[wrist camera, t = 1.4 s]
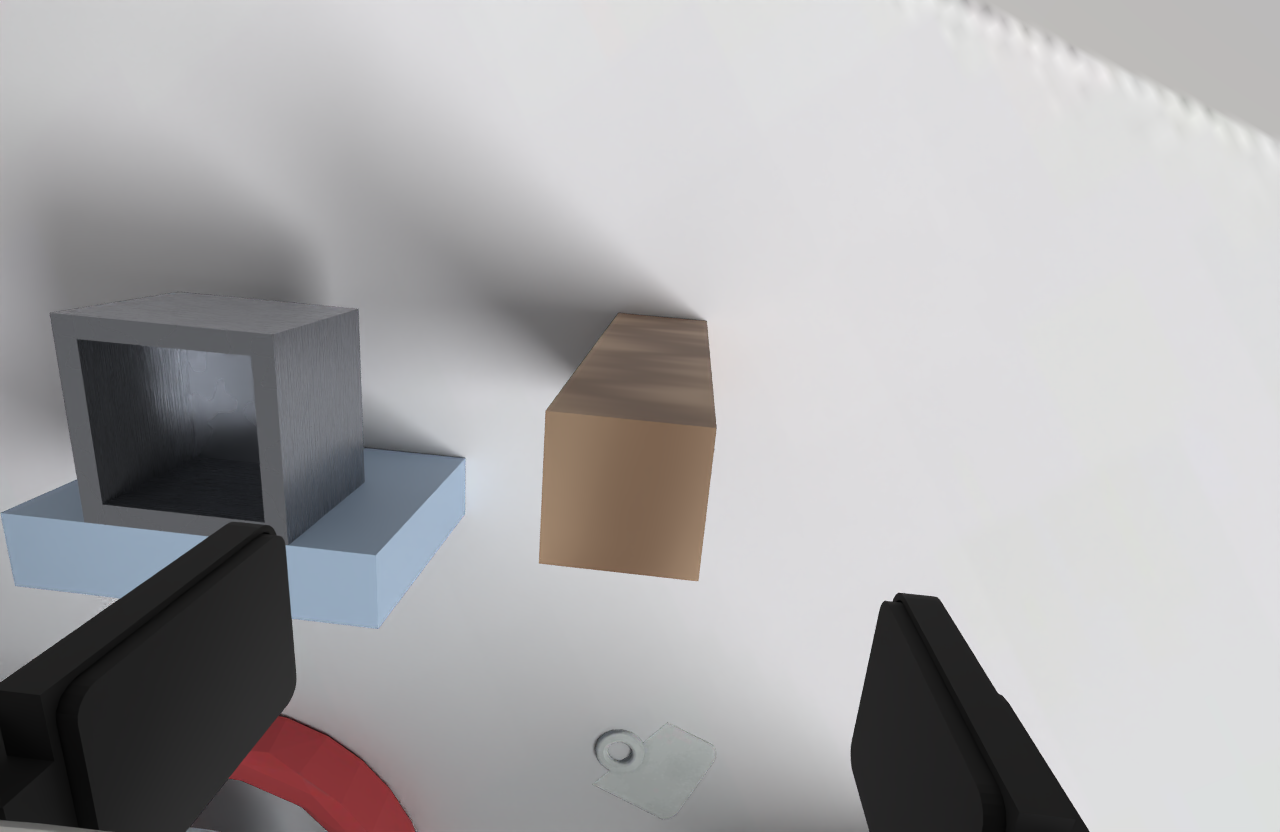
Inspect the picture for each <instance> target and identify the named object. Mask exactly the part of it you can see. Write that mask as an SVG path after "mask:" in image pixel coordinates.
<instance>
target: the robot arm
mask: <svg viewBox="0 0 1280 832" xmlns="http://www.w3.org/2000/svg"><path fill="white" fill-rule="evenodd" d="M295 686H296V666H295V654H294V642H293V630H292V617H291V605H290V593H289V581H288V569H287V556H286V545H285V541H284V539H283V537H281V536H279V535H276V532H275V530H274V528H273V527H271V526H270V525H262V524H253V523H244V522H230V523H228V524H226V525H225V526H223V527H222V528H220V529H219V530H217V531H216V532H215V533H213V534H212V535H210V536H209V537H207V538H206V539H205V540H203V541H202V542H200V543H199V544H197V545H196V546H195V547H193V548H192V549H190V550H189V551H187V552H186V553H185V554H183V555H182V556H180V557H179V558H177V559H176V560H175V561H173V562H172V563H170V564H169V565H167V566H166V567H165V568H163V569H162V570H160V571H159V572H157V573H156V574H155V575H153V576H152V577H150V578H149V579H147V580H146V581H145V582H143V583H142V584H140V585H139V586H137V587H136V588H135V589H133V590H132V591H130V592H129V593H127V594H126V595H125V596H123V597H122V598H120V599H119V600H117V601H116V602H115V603H113V604H112V605H110V606H109V607H107V608H106V609H105V610H103V611H102V612H100V613H99V614H97V615H96V616H95V617H93V618H92V619H90V620H89V621H87V622H86V623H85V624H83V625H82V626H80V627H79V628H77V629H76V630H75V631H73V632H72V633H70V634H69V635H67V636H66V637H65V638H63V639H62V640H60V641H59V642H57V643H56V644H55V645H53V646H52V647H50V648H49V649H47V650H46V651H45V652H43V653H42V654H40V655H39V656H37V657H36V658H35V659H33V660H32V661H30V662H29V663H27V664H26V665H25V666H23V667H22V668H20V669H19V670H17V671H16V672H15V673H13V674H12V675H10V676H9V677H7V678H6V679H5V680H3V681H2V682H0V832H186V831H187V830H188V829H189V827H190V826H191V825H192V824H193V822H194V821H195V820H196V819H197V817H198V816H199V815H200V814H201V812H202V811H203V810H204V809H205V807H206V806H207V805H208V804H209V802H210V801H211V800H212V799H213V797H214V796H215V795H216V794H217V792H218V791H219V790H220V789H221V787H222V786H223V785H224V784H225V782H226V781H227V780H228V779H229V777H230V776H231V775H232V773H233V772H234V771H235V770H236V768H237V767H238V766H239V765H240V763H241V762H242V761H243V760H244V758H245V757H246V756H247V755H248V753H249V752H250V751H251V750H252V748H253V747H254V746H255V745H256V743H257V742H258V741H259V740H260V738H261V737H262V736H263V735H264V733H265V732H266V731H267V730H268V728H269V727H270V726H271V725H272V723H273V722H274V721H275V720H276V718H277V717H278V716H279V715H280V713H281V712H282V711H283V710H284V708H285V707H286V706H287V705H288V703H289V702H290V700H291V698H292V696H293V693H294V690H295ZM851 766H852V771H853V775H854V778H855V782H856V785H857V789H858V792H859V796H860V800H861V803H862V807H863V810H864V814H865V817H866V821H867V824H868V828H869V832H1089V830H1088V828H1087V827H1086V825H1085V824H1084V822H1083V820H1082V819H1081V817H1080V816H1079V814H1078V812H1077V811H1076V809H1075V808H1074V806H1073V804H1072V803H1071V801H1070V800H1069V798H1068V797H1067V795H1066V793H1065V792H1064V790H1063V789H1062V787H1061V785H1060V784H1059V782H1058V781H1057V779H1056V777H1055V776H1054V774H1053V773H1052V771H1051V769H1050V768H1049V766H1048V765H1047V763H1046V762H1045V760H1044V758H1043V757H1042V755H1041V754H1040V752H1039V750H1038V749H1037V747H1036V746H1035V744H1034V742H1033V741H1032V739H1031V738H1030V736H1029V734H1028V733H1027V731H1026V730H1025V728H1024V727H1023V725H1022V723H1021V722H1020V720H1019V719H1018V717H1017V715H1016V714H1015V712H1014V711H1013V709H1012V707H1011V706H1010V704H1009V703H1008V702H1007V700H1006V699H1005V698H1004V697H1003V696H1002V695H1000V694H998V693H997V691H996V690H995V688H994V686H993V685H992V683H991V681H990V680H989V678H988V677H987V675H986V673H985V672H984V670H983V669H982V667H981V665H980V664H979V662H978V660H977V659H976V657H975V656H974V654H973V652H972V651H971V649H970V647H969V646H968V644H967V643H966V641H965V639H964V638H963V636H962V635H961V633H960V631H959V630H958V628H957V626H956V625H955V623H954V622H953V620H952V618H951V617H950V615H949V614H948V612H947V610H946V609H945V607H944V605H943V604H942V602H941V601H940V600H939V599H938V597H933V596H924V595H915V594H905V593H898V594H896V595H895V597H894V599H893V602H890V601H884V602H883V603H882V605H881V607H880V611H879V615H878V620H877V625H876V629H875V634H874V639H873V644H872V648H871V653H870V658H869V662H868V667H867V672H866V677H865V681H864V686H863V691H862V695H861V700H860V705H859V710H858V714H857V719H856V724H855V728H854V733H853V738H852V743H851Z"/></svg>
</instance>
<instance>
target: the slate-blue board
mask: <svg viewBox="0 0 1280 832" xmlns="http://www.w3.org/2000/svg"><path fill="white" fill-rule="evenodd" d="M364 476H365V482H364V483H363V484H362V485H361V486H359V487H358V488H357V489H356V490H355V491H353V492H352V493H351V494H350V495H349V496H347V497H346V498H345V499H344V500H343V501H341V502H340V503H339V504H338V505H336V506H335V507H334V508H333V509H332V510H330V511H329V512H328V513H327V514H326V515H324V516H323V517H322V518H321V519H320V520H318V521H317V522H316V523H315V524H314V525H312V526H311V527H310V528H309V529H307V530H306V531H305V532H304V533H303V534H301V535H300V536H299V537H298V538H297V539H295V540H294V541H293V542H292V543H291V544H289V545H286V556H287V569H288V581H289V593H290V605H291V617H292V619H300V620H308V621H317V622H325V623H334V624H342V625H350V626H359V627H367V628H376V629H378V628H379V627H380V626H381V625H382V623H383V622H384V621H385V619H386V618H387V617H388V615H389V614H390V613H391V611H392V610H393V609H394V607H395V606H396V605H397V603H398V602H399V601H400V599H401V598H402V597H403V595H404V594H405V593H406V591H407V590H408V589H409V587H410V586H411V585H412V583H413V582H414V581H415V580H416V578H417V577H418V576H419V574H420V573H421V572H422V570H423V569H424V568H425V566H426V565H427V564H428V562H429V561H430V560H431V558H432V557H433V556H434V554H435V553H436V552H437V550H438V549H439V548H440V546H441V545H442V544H443V542H444V541H445V540H446V538H447V537H448V536H449V534H450V533H451V532H452V531H453V529H454V528H455V527H456V525H457V524H458V523H459V521H460V520H461V519H462V517H463V516H464V515H465V458H458V457H448V456H438V455H429V454H419V453H410V452H400V451H391V450H381V449H372V448H364ZM1 518H2V523H3V528H4V533H5V538H6V543H7V548H8V553H9V558H10V563H11V568H12V573H13V577H14V582H15V586H20V587H29V588H37V589H46V590H54V591H63V592H71V593H80V594H88V595H97V596H105V597H114V598H122V597H123V596H125V595H126V594H127V593H129V592H130V591H132V590H133V589H135V588H136V587H137V586H139V585H140V584H142V583H143V582H145V581H146V580H147V579H149V578H150V577H152V576H153V575H155V574H156V573H157V572H159V571H160V570H162V569H163V568H165V567H166V566H167V565H169V564H170V563H172V562H173V561H175V560H176V559H177V558H179V557H180V556H182V555H183V554H185V553H186V552H187V551H189V550H190V549H192V548H193V547H195V546H196V545H197V544H199V543H200V542H202V541H203V540H205V539H206V538H207V537H209V536H200V535H191V534H182V533H173V532H164V531H155V530H147V529H138V528H129V527H120V526H111V525H102V524H93V523H84V517H83V511H82V505H81V499H80V493H79V487H78V481H77V480H75V481H72V482H70V483H68V484H65V485H63V486H61V487H59V488H56V489H54V490H52V491H49V492H47V493H45V494H43V495H40V496H38V497H36V498H34V499H31V500H29V501H27V502H24V503H22V504H20V505H18V506H15V507H13V508H11V509H8V510H6V511H4V512H2V513H1Z"/></svg>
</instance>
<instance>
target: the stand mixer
mask: <svg viewBox="0 0 1280 832" xmlns="http://www.w3.org/2000/svg"><path fill="white" fill-rule="evenodd" d="M229 779H235V780H241V781H243V782H246V783H248V784H250V785H252V786H255V787H257V788H259V789H262V790H264V791H266V792H269V793H271V794H273V795H275V796H278V797H280V798H282V799H285V800H287V801H289V802H292V803H294V804H296V805H298V806H300V807H302V808H303V809H304V810H305V811H306V812H307V813H308V814H310V815H311V816H312V817H313V818H314V819H315V820H316V821H317V822H318V823H319V824H320V825H321V826H323V827H324V828H325V829H326V830H327V831H328V832H415V830H414V827H413V825H412V822H411V821H410V819H409V817H408V816H407V814H406V813H405V811H404V810H403V808H402V807H401V805H400V804H399V802H398V800H397V799H396V797H395V796H394V794H393V793H392V791H391V790H390V788H389V787H388V786H387V785H386V784H385V783H384V782H383V781H382V780H381V779H380V778H379V777H378V776H377V775H376V774H375V773H374V772H373V771H372V770H371V769H370V768H369V767H368V766H367V765H366V764H365V763H364V762H363V761H362V760H361V759H360V758H358V757H357V756H356V755H354V754H353V753H351V752H350V751H348V750H347V749H346V748H344V747H343V746H341V745H340V744H338V743H337V742H336V741H334V740H333V739H331V738H330V737H329V736H326V735H324V734H322V733H320V732H318V731H315V730H313V729H311V728H309V727H307V726H304V725H302V724H300V723H298V722H296V721H293V720H291V719H289V718H286V717H281V716H278V717H277V718H276V720H275V721H274V722H273V723H272V725H271V726H270V727H269V728H268V730H267V731H266V732H265V733H264V735H263V736H262V737H261V738H260V740H259V741H258V742H257V743H256V745H255V746H254V747H253V748H252V750H251V751H250V752H249V753H248V755H247V756H246V757H245V758H244V760H243V761H242V762H241V763H240V765H239V766H238V767H237V768H236V770H235V771H234V772H233V773H232V775H231V776H230V777H229ZM186 832H220V831H214V830H208V829H200V828H193V827H189V829H188V830H187V831H186Z"/></svg>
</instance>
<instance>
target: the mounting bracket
mask: <svg viewBox="0 0 1280 832" xmlns="http://www.w3.org/2000/svg"><path fill="white" fill-rule="evenodd" d="M615 742H622V743H625V744H627V745H628V746H629V747H630V748H631V750H632V752H631V753H630V754H629V756H628V757H626V758H624V759H623V760H621V761H618V760H615V759H613V758H612V757H610V755H609V753H608V747H609V746H610V745H611V744H613V743H615ZM595 749H596V755H597V758H598V760H599V761H600V763H601V764H602V765H603V766H604V767H605V768H607V769H608V770H609V771H608V772H607V773H606V774H604V775H603V776H602V777H601V778H600V779H598V780H597V781H596V782H595V783H594V784H592V785H594V786H596V787H598V788H600V789H602V790H604V791H606V792H608V793H610V794H612V795H614V796H616V797H618V798H620V799H622V800H624V801H626V802H628V803H630V804H632V805H634V806H636V807H638V808H640V809H642V810H644V811H646V812H648V813H650V814H652V815H654V816H656V817H658V818H660V819H669V818H672V817H673V816H675V815H676V814H677V813H678V812H679V811H680V809H681V808H682V806H683V805H684V804H685V802H686V801H687V799H688V798H689V796H690V795H691V794H692V792H693V791H694V789H695V788H696V787H697V785H698V784H699V782H700V781H701V779H702V778H703V777H704V775H705V774H706V772H707V771H708V769H709V768H710V767H711V765H712V764H713V762H714V760H715V757H716V751H715V748H714V746H713V745H712V744H710V743H708V742H706V741H704V740H702V739H700V738H698V737H696V736H694V735H692V734H690V733H688V732H686V731H684V730H682V729H679V728H677V727H675V726H673V725H671V724H669V723H666V724H665V725H664V726H663V727H661V728H660V729H659V730H658V731H657V732H655V733H654V734H653V735H652V736H650V737H649V738H648V739H647V740H646V741H644V742H643V743H642V741H641V739H640V738H639V737H637V736H636V735H635V734H633V733H632V732H629V731H625V730H611V731H609V732H606V733H604V734H603V735H602V736H601V737H600V738H599V739H598V741H597V743H596V746H595Z"/></svg>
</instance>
